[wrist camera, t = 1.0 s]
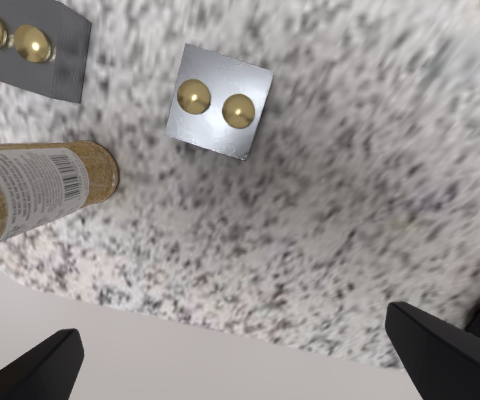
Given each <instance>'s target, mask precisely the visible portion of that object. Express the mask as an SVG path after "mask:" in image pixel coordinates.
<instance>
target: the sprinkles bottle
mask: <svg viewBox="0 0 480 400" xmlns="http://www.w3.org/2000/svg"><path fill="white" fill-rule="evenodd" d="M117 183H118V171H117V167H116V164H115V162H114V160H113V158H112V156H111V155H110V154H109V153H108V152H107V151H106V150H105V149H104V148H103V147H101V146H99V145H98V144H95V143H94V142H91V141H81V140H79V141H76V142H71V143H47V142H37V143H2V144H0V242H2V241H4V240H6V239H9V238H11V237H14V236H16V235H19V234H21V233H24V232H26V231H29V230H31V229H33V228H36V227H39V226H41V225H44V224H46V223H49V222H51V221H53V220H56V219H58V218H61V217H63V216H66V215H68V214H70V213H73V212H75V211H76V210H78V209H80V208H83V207H85V206H87V205H90V204H95V203H99V202H102V201H104V200H106V199H108V198H109V197H110V196H111V195H112V194H113V192H114V191H115V189H116V186H117Z"/></svg>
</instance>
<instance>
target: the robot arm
mask: <svg viewBox="0 0 480 400" xmlns="http://www.w3.org/2000/svg"><path fill="white" fill-rule="evenodd" d="M385 329H386V332H387V335H388V337H389V338H390V340H391V342H392V344H393V346H394V348H395V350H396V352H397V354H398V355H399V357H400V359H401V361H402V363H403V365H404V367H405V369H406V371H407V372H408V374H409V376H410V378H411V380H412V381H413V383H414V385H415V387H416V389H417V390H418V392H419V393H420V395H421V397H422V398H423V400H480V309H479V311H478V312H477V314H476V316H475V317H474V319H473V320H472V322H471V323H470V325H469V326H468V328H467V329H466V331H463V330H461V329H459V328H457V327H455V326H453V325H451V324H449V323H447V322H445V321H443V320H441V319H439V318H437V317H435V316H433V315H431V314H429V313H427V312H425V311H422V310H420V309H418V308H416V307H414V306H412V305H410V304H408V303H406V302H403V301H400V302H391V303H389V304H388V307H387V314H386V320H385ZM83 359H84V349H83V345H82V341H81V338H80V334H79V331H78V330H77V329H74V328H72V329H62V330H59V331H57V332H56V333H55V334H53V335H52V336H50V337H49V338H47V339H46V340H44V341H43V342H41V343H40V344H38V345H37V346H35V347H34V348H32V349H31V350H30V351H28V352H26V353H25V354H23V355H22V356H20V357H19V358H18V359H16V360H15V361H13V362H12V363H10V364H9V365H7V366H6V367H4V368H3V369H1V370H0V400H68V399H69V396H70V394H71V391H72V389H73V386H74V383H75V381H76V378H77V375H78V373H79V370H80V367H81V364H82V362H83Z"/></svg>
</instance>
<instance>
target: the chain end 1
mask: <svg viewBox="0 0 480 400" xmlns="http://www.w3.org/2000/svg"><path fill="white" fill-rule="evenodd" d="M90 29H91V22H89V21H88V20H86V19H85V18H83V17H82V16H80V15H79V14H77V13H76V12H74V11H73V10H71V9H70V8H69V7H67V6H66V5H64V4H63V3H61V2H58V1H55V0H0V82H4V83H7V84H10V85H13V86H16V87H19V88H22V89H25V90H28V91H31V92H34V93H37V94H40V95H43V96H47V97H50V98H54V99H59V100H65V101H70V102H75V103H80V100H81V93H82V86H83V79H84V72H85V65H86V58H87V51H88V43H89V36H90Z"/></svg>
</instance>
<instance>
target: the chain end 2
mask: <svg viewBox="0 0 480 400" xmlns="http://www.w3.org/2000/svg"><path fill="white" fill-rule="evenodd" d="M273 76H274V72H273V71H270V70H267V69H264V68H261V67H257V66H254V65H251V64H248V63H245V62H242V61H239V60H236V59H233V58H230V57H227V56H224V55H221V54H217V53H214V52H211V51H208V50H205V49H202V48H199V47H196V46H193V45H190V44H187V43H185V48H184V52H183V56H182V61H181V65H180V69H179V74H178V78H177V82H176V87H175V91H174V96H173V100H172V104H171V109H170V113H169V117H168V122H167V126H166V130H165V135H166V136H169V137H172V138H175V139H179V140H182V141H185V142H188V143H191V144H194V145H197V146H200V147H203V148H206V149H209V150H212V151H215V152H218V153H221V154H225V155H228V156H231V157H234V158H237V159H240V160H243V161H246V160H247V159H248V156H249V153H250V150H251V147H252V143H253V140H254V137H255V134H256V131H257V128H258V125H259V122H260V118H261V115H262V112H263V109H264V106H265V103H266V100H267V97H268V93H269V90H270V87H271V84H272V80H273Z"/></svg>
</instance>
